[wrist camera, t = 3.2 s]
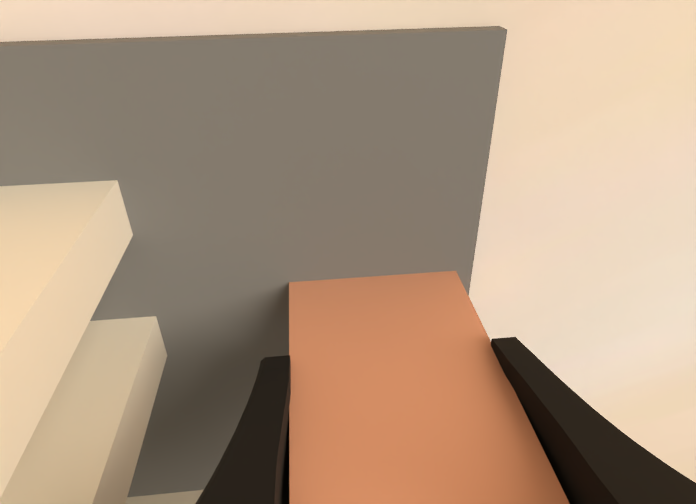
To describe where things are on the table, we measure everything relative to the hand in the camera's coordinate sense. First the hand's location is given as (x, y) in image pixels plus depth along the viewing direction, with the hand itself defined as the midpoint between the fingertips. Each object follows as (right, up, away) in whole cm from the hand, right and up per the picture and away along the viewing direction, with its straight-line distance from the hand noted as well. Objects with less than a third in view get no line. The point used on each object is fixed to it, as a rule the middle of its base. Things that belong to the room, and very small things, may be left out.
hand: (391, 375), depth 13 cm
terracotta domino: (0, +2, +3) cm, 3 cm away
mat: (-6, -3, +6) cm, 9 cm away
